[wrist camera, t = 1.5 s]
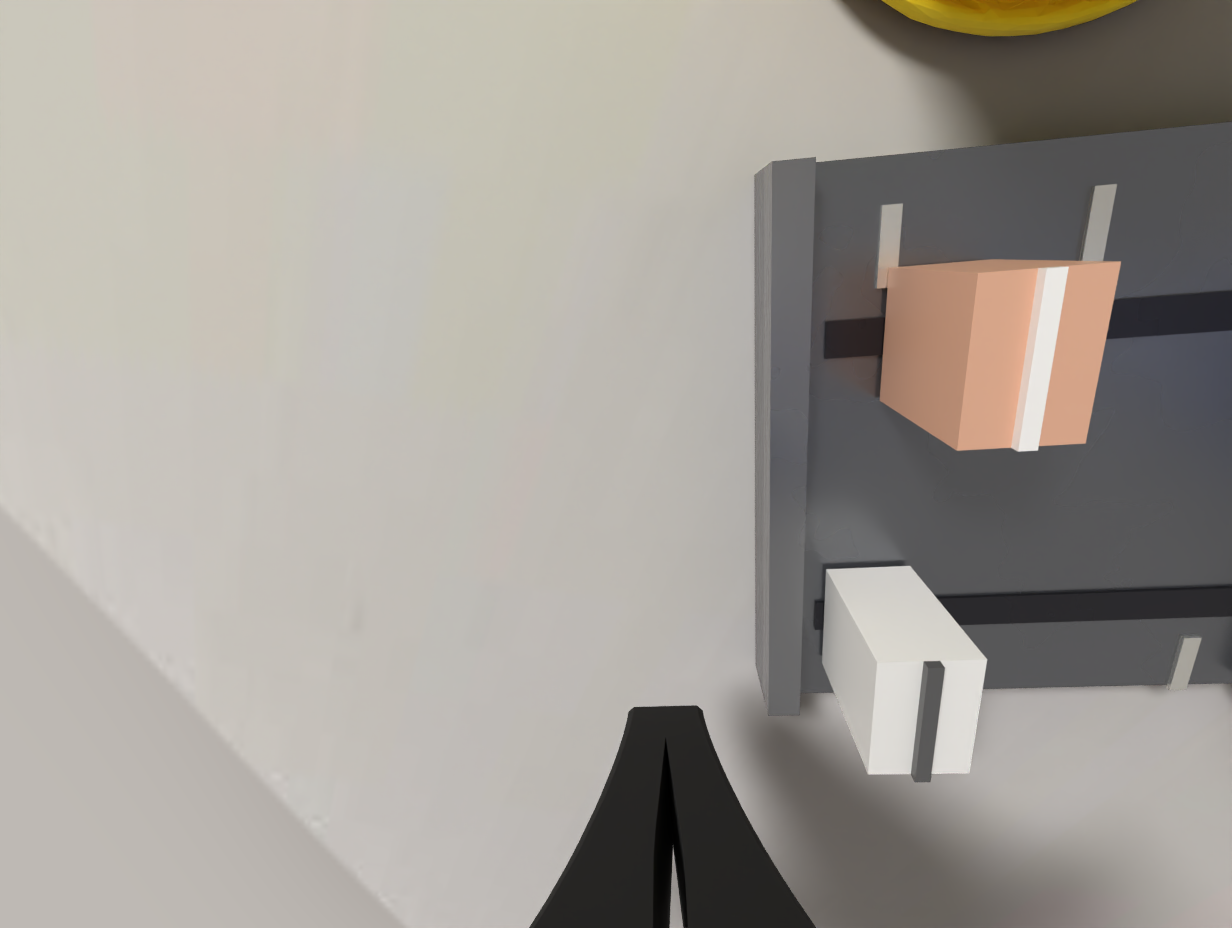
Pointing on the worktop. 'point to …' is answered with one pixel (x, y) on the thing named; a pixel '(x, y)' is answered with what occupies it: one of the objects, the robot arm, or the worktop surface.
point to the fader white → (901, 672)
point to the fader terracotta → (997, 349)
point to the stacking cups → (1005, 14)
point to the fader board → (1003, 478)
